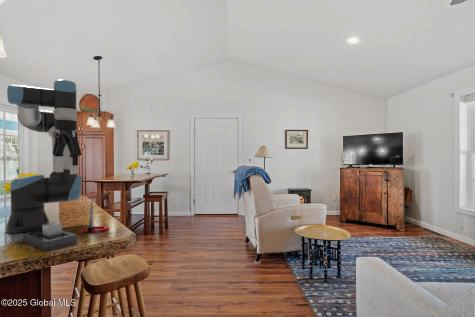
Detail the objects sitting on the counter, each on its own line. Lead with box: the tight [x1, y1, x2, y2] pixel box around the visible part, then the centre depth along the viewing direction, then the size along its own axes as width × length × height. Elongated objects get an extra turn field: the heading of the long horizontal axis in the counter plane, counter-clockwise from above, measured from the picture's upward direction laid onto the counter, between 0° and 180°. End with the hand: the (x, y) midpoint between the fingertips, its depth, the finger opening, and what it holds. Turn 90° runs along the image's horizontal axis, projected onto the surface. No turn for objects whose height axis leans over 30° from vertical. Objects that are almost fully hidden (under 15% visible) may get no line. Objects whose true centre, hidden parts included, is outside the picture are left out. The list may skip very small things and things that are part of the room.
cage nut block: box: [42, 221, 63, 240], centre depth 98 cm, size 4×4×7 cm
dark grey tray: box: [24, 229, 78, 252], centre depth 99 cm, size 18×10×3 cm, turn 56°
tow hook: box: [82, 201, 110, 234], centre depth 115 cm, size 8×13×9 cm
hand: (66, 173), depth 107 cm, fingers open, 13 cm apart
